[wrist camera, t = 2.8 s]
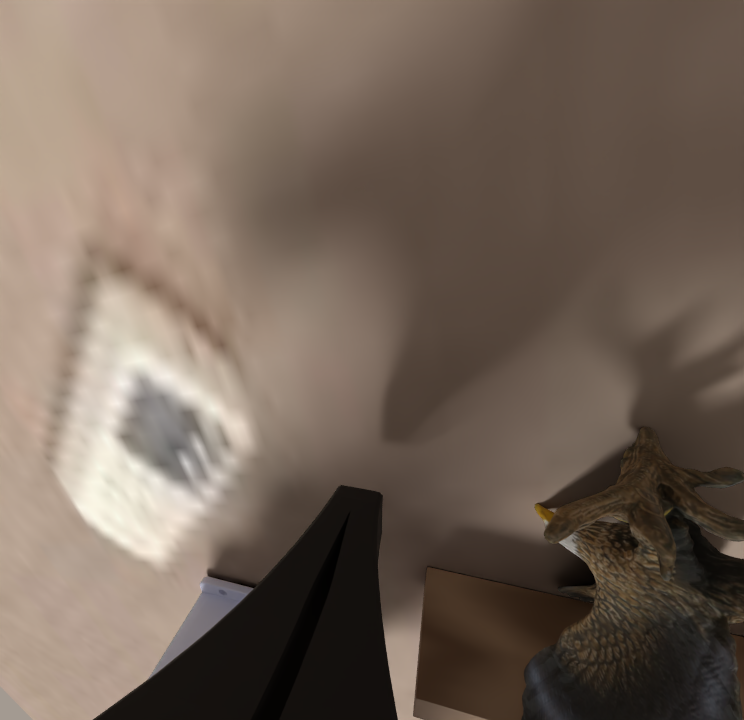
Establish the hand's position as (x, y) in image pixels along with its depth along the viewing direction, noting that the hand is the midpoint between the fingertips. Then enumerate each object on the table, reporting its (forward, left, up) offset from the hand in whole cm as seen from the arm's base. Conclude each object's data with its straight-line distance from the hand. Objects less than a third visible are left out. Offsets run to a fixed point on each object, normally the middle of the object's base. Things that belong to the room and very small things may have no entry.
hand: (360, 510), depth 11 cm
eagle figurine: (+8, -1, -3) cm, 9 cm away
